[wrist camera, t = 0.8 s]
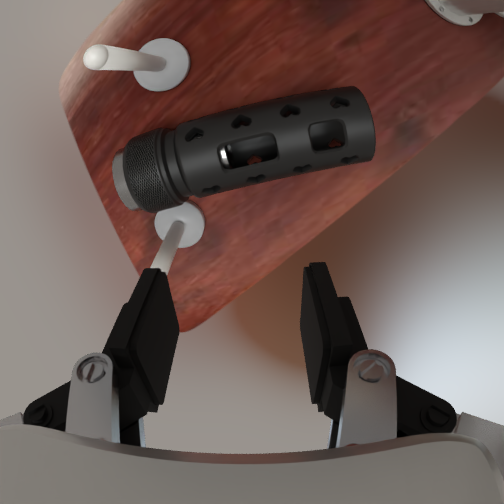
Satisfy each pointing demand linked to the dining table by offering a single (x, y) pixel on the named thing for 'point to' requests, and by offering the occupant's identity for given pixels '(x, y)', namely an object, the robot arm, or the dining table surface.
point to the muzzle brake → (244, 148)
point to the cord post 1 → (144, 62)
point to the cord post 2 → (177, 231)
